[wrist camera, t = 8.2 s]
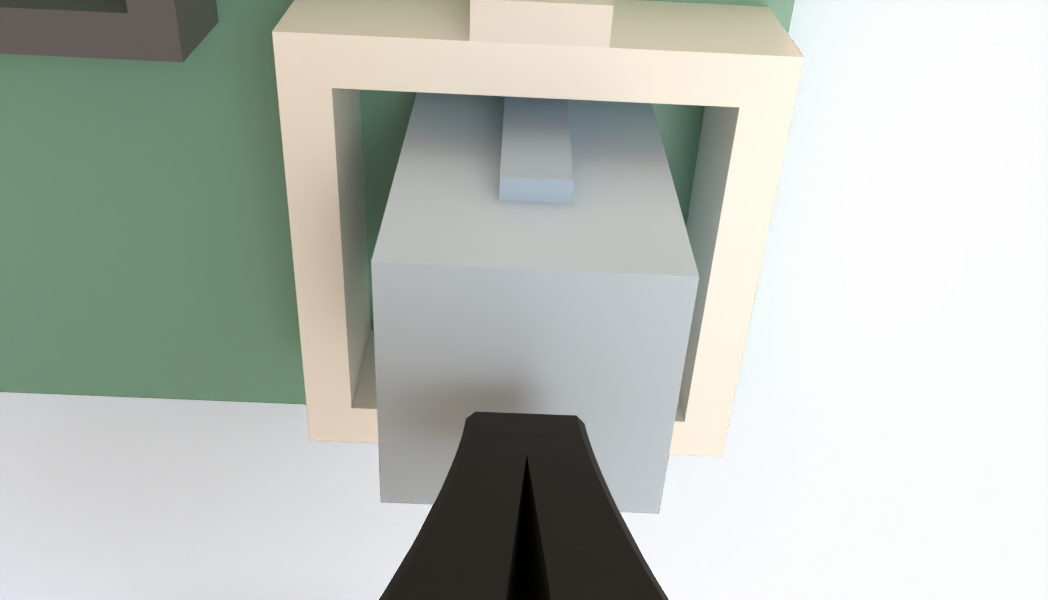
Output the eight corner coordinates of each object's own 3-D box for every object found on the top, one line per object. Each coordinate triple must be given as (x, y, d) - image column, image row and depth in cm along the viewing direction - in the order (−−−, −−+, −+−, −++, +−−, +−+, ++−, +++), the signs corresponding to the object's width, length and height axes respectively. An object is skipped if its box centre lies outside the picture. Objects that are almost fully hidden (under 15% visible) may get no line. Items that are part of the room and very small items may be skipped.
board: (705, 392, 22) (712, 420, 21) (-80, 359, 21) (-104, 387, 21) (818, -217, 15) (835, -210, 14) (-303, -277, 15) (-353, -273, 14)
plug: (625, 291, 19) (658, 513, 14) (420, 282, 19) (380, 502, 14) (652, 77, 17) (703, 251, 12) (419, 65, 17) (369, 237, 12)
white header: (701, 375, 20) (721, 456, 18) (333, 359, 20) (309, 440, 18) (775, -31, 16) (812, 15, 14) (303, -55, 16) (268, -12, 14)
